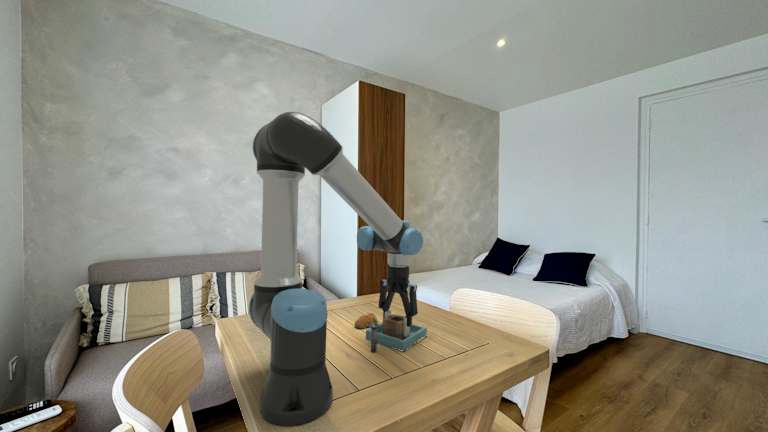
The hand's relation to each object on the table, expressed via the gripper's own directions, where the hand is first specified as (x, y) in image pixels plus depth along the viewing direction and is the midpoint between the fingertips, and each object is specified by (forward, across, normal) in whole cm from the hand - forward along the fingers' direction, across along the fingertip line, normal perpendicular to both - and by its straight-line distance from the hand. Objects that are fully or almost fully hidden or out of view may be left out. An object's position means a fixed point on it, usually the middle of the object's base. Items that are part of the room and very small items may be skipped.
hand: (396, 332), depth 100 cm
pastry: (+2, +16, -3) cm, 16 cm away
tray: (+2, 0, 0) cm, 2 cm away
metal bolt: (+2, 0, +13) cm, 13 cm away
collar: (0, 0, 0) cm, 0 cm away
